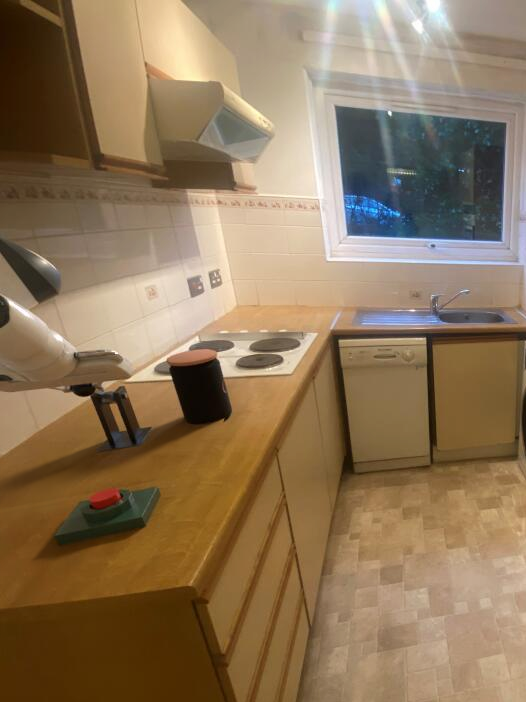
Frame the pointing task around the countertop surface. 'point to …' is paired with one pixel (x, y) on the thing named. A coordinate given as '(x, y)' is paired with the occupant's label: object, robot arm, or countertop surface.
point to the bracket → (114, 436)
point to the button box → (109, 516)
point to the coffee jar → (200, 386)
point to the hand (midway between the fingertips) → (85, 387)
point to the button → (105, 498)
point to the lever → (93, 393)
